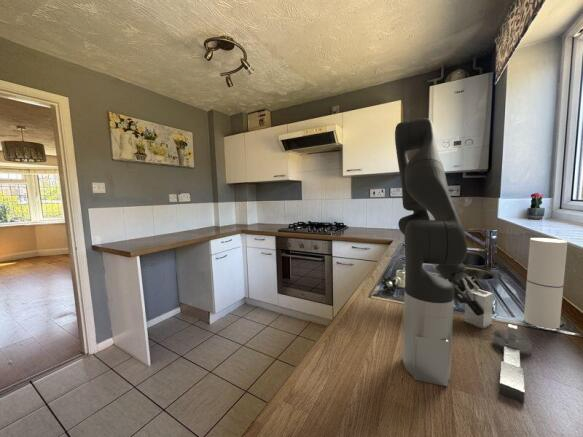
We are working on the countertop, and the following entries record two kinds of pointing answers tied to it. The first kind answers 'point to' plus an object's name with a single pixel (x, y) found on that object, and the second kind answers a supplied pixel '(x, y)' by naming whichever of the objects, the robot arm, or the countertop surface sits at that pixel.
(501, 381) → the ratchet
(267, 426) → the countertop surface
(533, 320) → the cylindrical container
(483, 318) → the socket
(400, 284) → the valve
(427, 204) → the robot arm
